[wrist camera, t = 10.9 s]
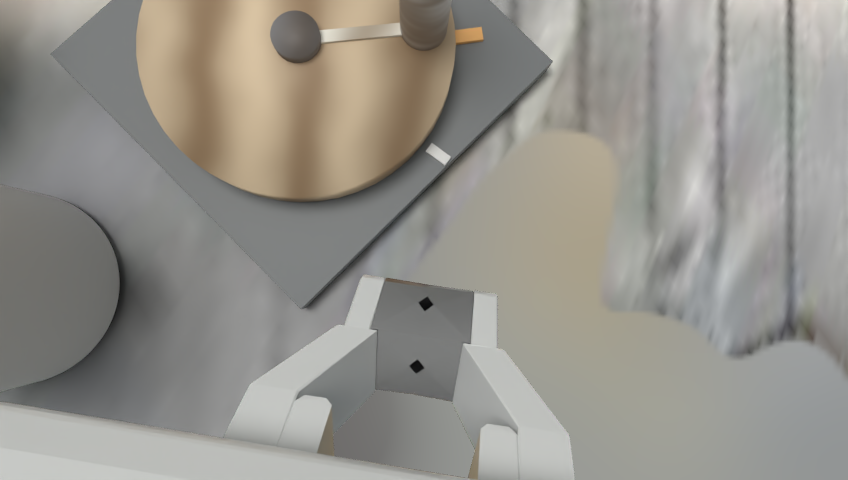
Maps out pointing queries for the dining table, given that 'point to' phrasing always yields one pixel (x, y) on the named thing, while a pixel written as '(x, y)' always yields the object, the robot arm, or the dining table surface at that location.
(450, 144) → the dial base
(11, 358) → the cylinder vase
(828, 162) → the dining table surface
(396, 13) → the dial
